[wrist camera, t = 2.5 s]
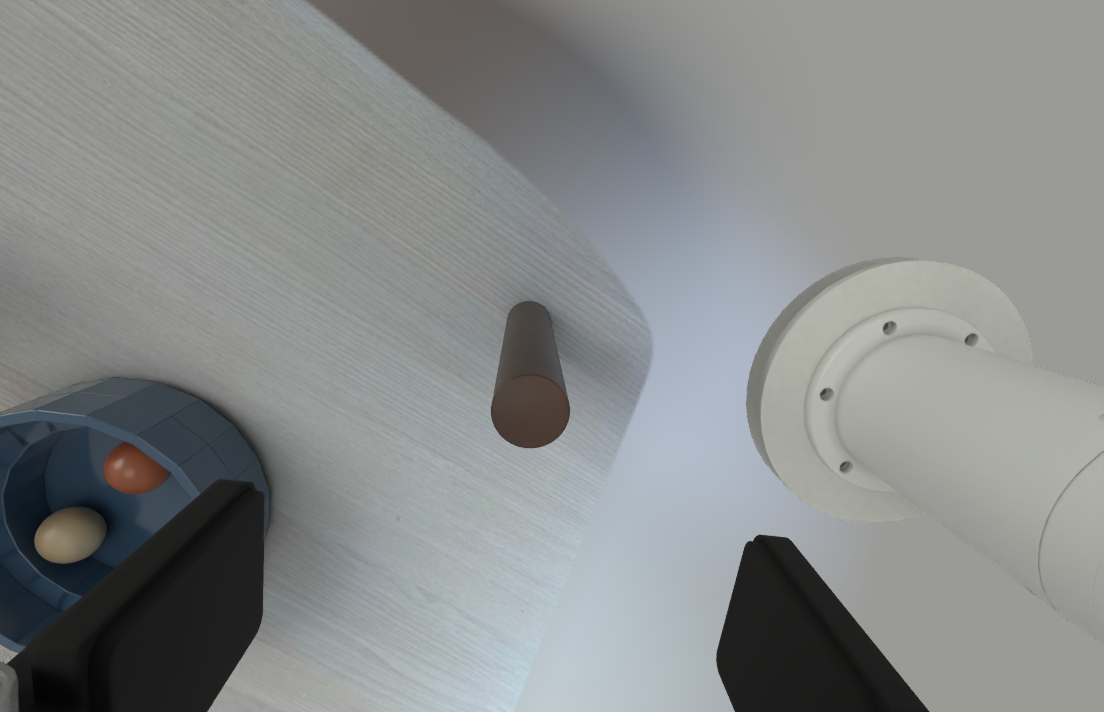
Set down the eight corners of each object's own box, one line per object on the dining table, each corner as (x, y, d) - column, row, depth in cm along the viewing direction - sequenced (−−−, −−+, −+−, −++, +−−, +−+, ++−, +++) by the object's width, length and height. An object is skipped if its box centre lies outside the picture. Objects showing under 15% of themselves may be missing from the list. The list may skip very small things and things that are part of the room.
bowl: (276, 392, 33) (223, 431, 27) (271, 606, 37) (222, 680, 31) (7, 359, 32) (-110, 392, 26) (29, 583, 35) (-68, 656, 30)
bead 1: (118, 499, 33) (76, 528, 30) (120, 544, 34) (80, 578, 31) (63, 493, 33) (15, 522, 30) (67, 539, 34) (20, 572, 31)
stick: (553, 304, 32) (575, 380, 18) (547, 346, 33) (563, 453, 18) (510, 298, 32) (496, 369, 17) (504, 340, 33) (486, 443, 18)
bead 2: (185, 432, 33) (149, 455, 29) (186, 480, 33) (151, 508, 30) (128, 425, 32) (87, 448, 29) (131, 474, 33) (90, 501, 30)
